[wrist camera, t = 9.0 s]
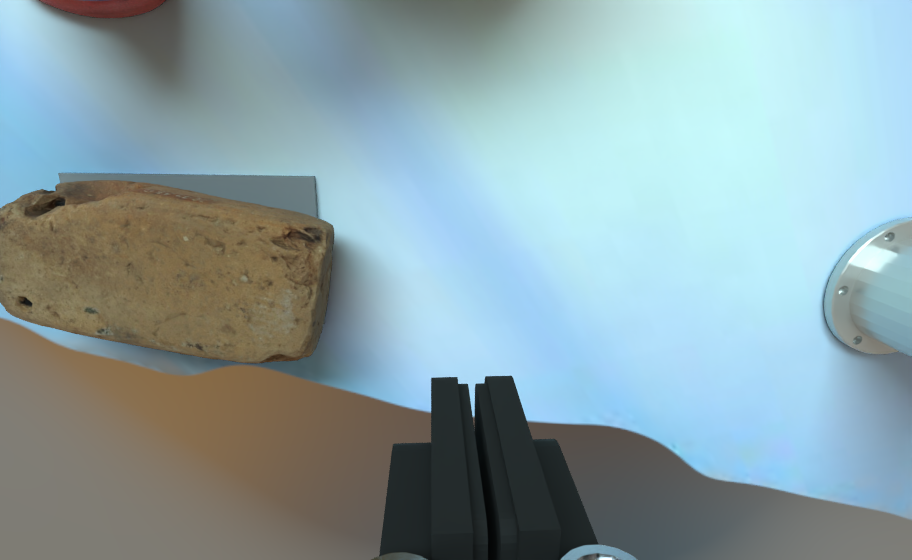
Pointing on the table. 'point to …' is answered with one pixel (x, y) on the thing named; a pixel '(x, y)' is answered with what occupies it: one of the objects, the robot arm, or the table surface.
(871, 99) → the table surface
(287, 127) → the table surface
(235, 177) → the mat
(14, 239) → the block
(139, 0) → the stacking bear
